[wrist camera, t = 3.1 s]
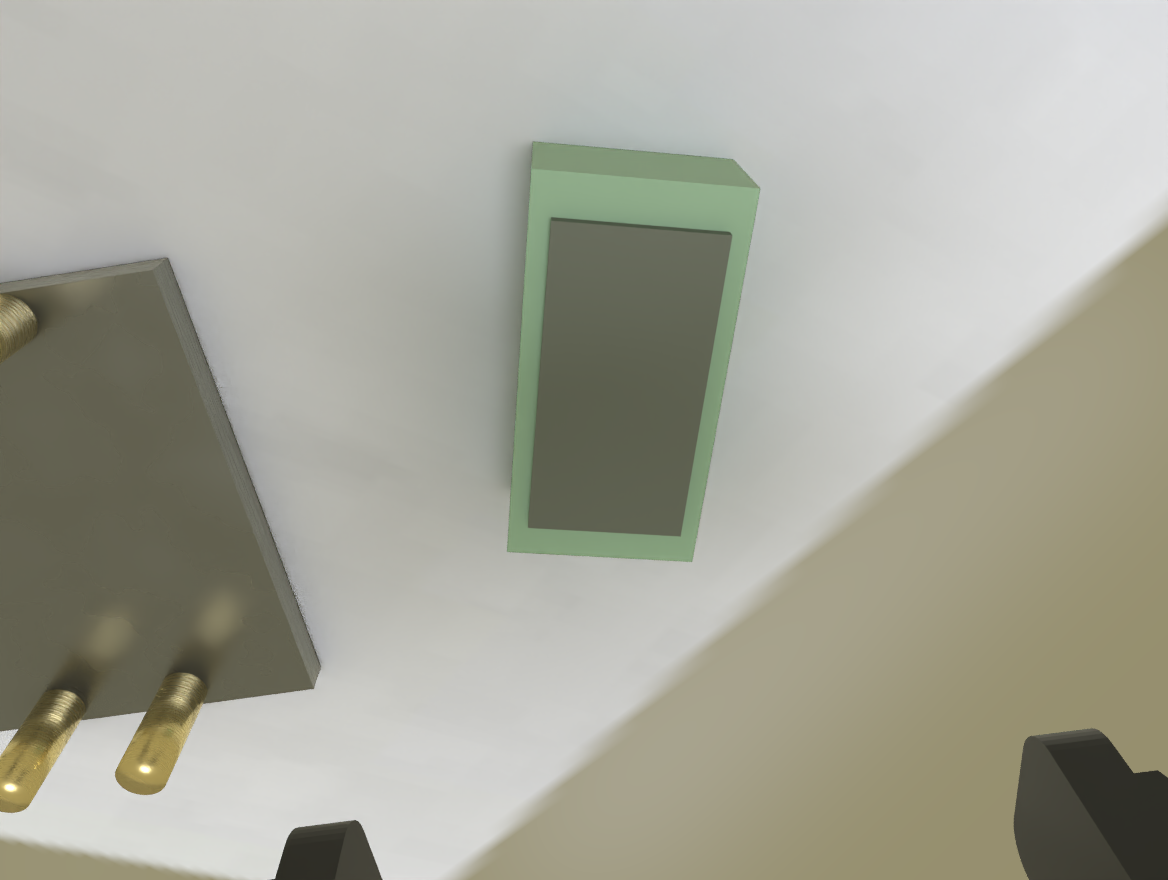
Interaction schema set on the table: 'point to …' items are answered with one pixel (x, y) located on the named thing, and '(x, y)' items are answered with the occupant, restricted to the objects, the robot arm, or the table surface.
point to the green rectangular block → (624, 347)
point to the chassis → (125, 530)
